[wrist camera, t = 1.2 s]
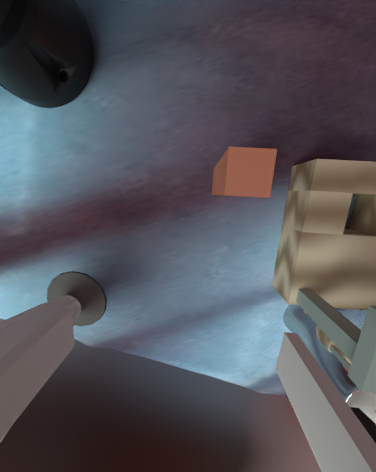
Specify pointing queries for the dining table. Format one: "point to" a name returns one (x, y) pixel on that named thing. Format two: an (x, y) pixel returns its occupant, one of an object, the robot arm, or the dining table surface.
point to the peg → (244, 172)
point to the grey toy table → (346, 337)
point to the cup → (56, 308)
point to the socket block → (329, 234)
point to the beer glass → (329, 359)
